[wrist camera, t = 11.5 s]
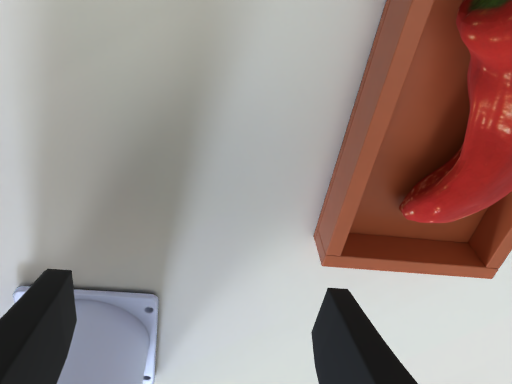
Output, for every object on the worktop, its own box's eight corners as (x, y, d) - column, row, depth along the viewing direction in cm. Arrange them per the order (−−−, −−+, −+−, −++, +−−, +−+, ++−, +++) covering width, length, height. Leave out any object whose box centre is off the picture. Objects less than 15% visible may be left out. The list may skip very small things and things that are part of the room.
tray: (471, 249, 25) (492, 279, 23) (313, 235, 23) (321, 266, 21) (688, -117, 15) (757, -120, 13) (441, -177, 14) (477, -190, 12)
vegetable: (438, -30, 12) (396, 238, 20) (659, -39, 11) (520, 255, 19) (436, -68, 16) (400, 178, 24) (608, -78, 14) (507, 188, 22)
